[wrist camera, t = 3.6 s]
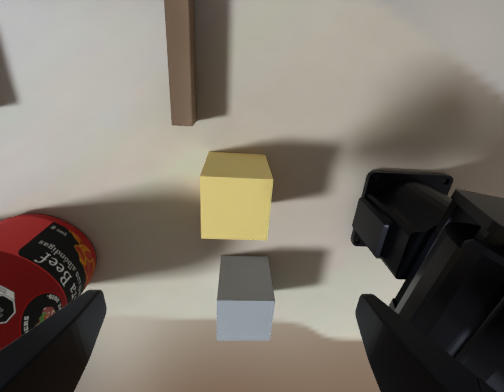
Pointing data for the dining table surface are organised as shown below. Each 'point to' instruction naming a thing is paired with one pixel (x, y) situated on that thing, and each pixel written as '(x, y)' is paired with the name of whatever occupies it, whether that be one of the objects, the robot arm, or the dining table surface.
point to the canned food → (39, 270)
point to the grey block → (245, 298)
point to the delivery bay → (181, 60)
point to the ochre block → (235, 196)
